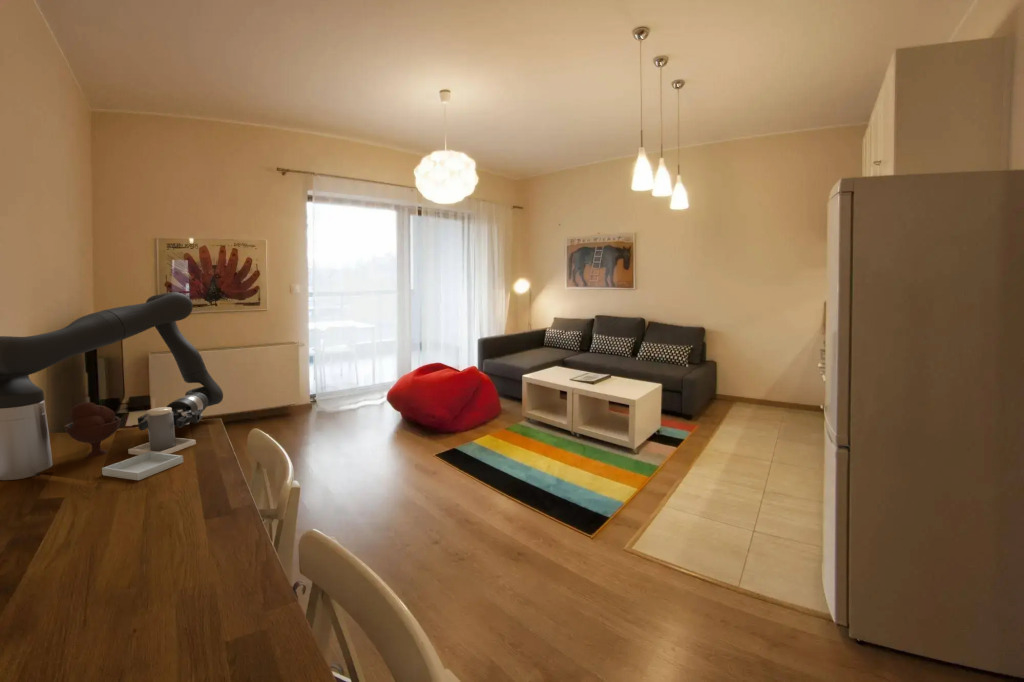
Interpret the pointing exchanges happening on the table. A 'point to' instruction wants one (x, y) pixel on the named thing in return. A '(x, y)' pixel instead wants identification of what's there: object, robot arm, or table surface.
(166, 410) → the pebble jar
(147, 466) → the glazed dish
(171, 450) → the tray
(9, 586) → the table surface
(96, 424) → the ice cream bowl
